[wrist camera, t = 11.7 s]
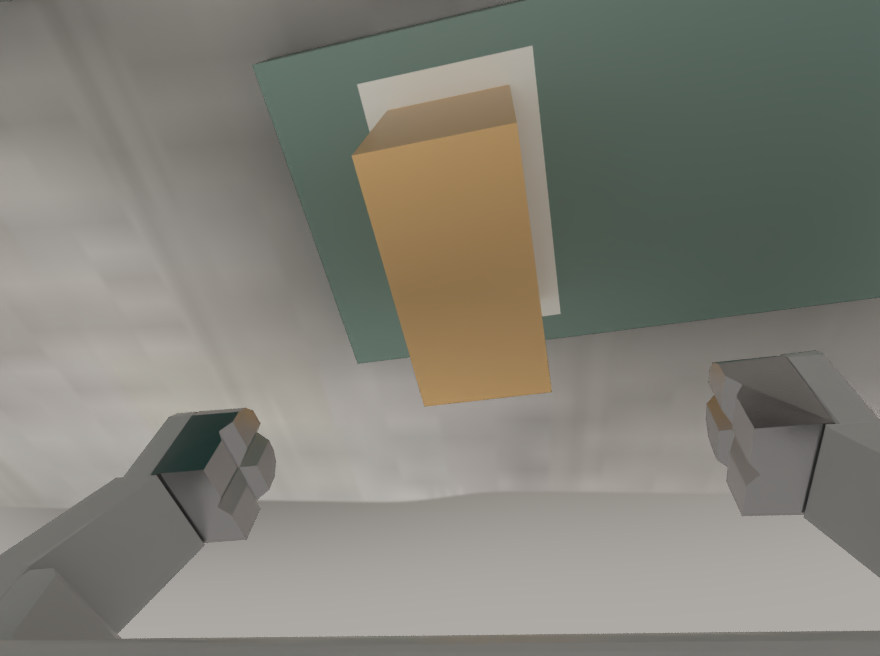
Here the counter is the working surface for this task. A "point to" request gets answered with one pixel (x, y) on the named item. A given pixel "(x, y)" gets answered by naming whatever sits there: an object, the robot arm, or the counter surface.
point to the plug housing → (458, 245)
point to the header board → (621, 153)
